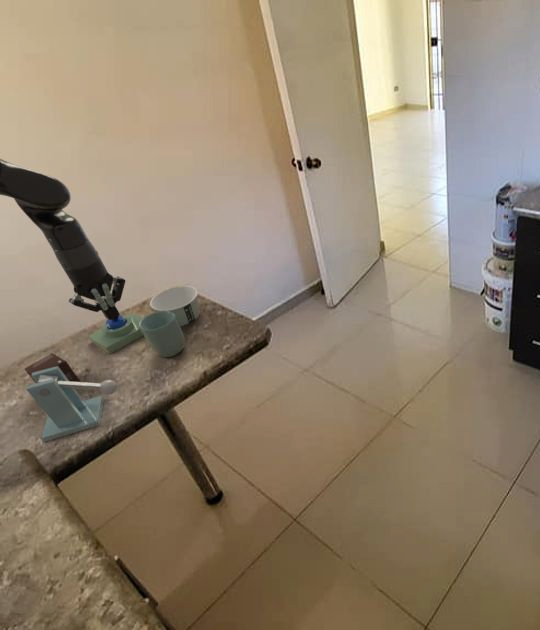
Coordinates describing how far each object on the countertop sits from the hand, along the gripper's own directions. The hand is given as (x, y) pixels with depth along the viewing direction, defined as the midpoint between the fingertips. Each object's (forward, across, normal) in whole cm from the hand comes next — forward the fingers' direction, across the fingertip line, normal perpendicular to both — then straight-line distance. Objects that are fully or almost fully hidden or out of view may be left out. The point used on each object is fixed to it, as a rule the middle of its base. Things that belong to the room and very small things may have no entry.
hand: (114, 318), depth 112 cm
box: (+6, +18, +7) cm, 20 cm away
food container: (+6, -13, +6) cm, 16 cm away
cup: (+6, -3, +17) cm, 19 cm away
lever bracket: (+6, +21, +20) cm, 29 cm away
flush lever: (-1, +18, +22) cm, 28 cm away
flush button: (+2, 0, 0) cm, 2 cm away
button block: (+6, 0, 0) cm, 6 cm away
